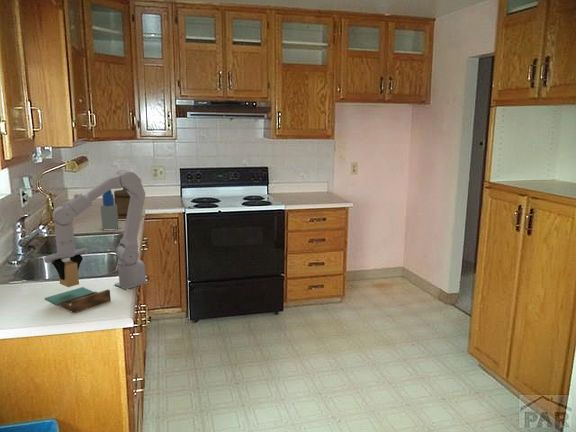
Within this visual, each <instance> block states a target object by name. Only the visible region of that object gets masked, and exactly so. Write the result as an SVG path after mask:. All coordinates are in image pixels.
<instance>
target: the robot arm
mask: <svg viewBox="0 0 576 432" xmlns="http://www.w3.org/2000/svg"><path fill="white" fill-rule="evenodd" d="M123 188H124V189H125V190H126V191H127V193H128V194H129V195H130V202H129V207H128V212H127V218H126V220H125V223H124V228H123V234H122V237H121V239H120V240H119V244H118V246H117V247H116V249H115V254H116V256H117V258H118V261H117V269H118V271H117V272H118V282H115V283H114V286H116V287H119V288H121V289H123V290H124V289H125V290H129V289H132V288H135V287H139V286H142V285H144V284H147V283H148V281H147V276H146V275H147V273H146V272H147V271H146V265H145V263H144V261H143V260H141V259H139V258H140V252H139V243H138V235H139V230H140V225H141V219H142V214H143V208H144V203H145V200H146V192H145V189H144V186H143V184H142V179H141V178H140V176H138V174H137V173H135V172H134V171H128V170H127V169H120V170H118V171H117V172H116V173H113V174H111V175H110V176H108V177H107V178H106V179H103V181H102V182H100V183H99V184H97V185H96V186H94V187H93V188H92V189H90V190H89V191H88V192H86V193H83V192H81V193H79V194H78V193H75V194H74V195H73V198H70V199H69V200H68V201H66V202H63V203H62V204H61V205H62V206H61V205H60V206H57V207H56V208H54V209H53V211H52V214H51V217H52V219H53V220H54V235H55V245H56V253H53V254H50V255H46V256H44V257H43V261H44V263H46V264H49V263H51V264H52V265H53V267H54V268H55V270H56V272H57V274H58V278H59V277H60V279H61V280H65V274H64V264H65V262H62V261H63V260H65V259H69V260H71V261H73V262H76V263H77V267H78V270H79V269H80V266H81V264H82V262H83V259H84V258H83V256H82V255H88V254H89V252H88V251H89V250H88V248H86V247H83V248H76V246H75V237H74V227H73V221H74V219H75V217H77V216H80V214H82V213H83V212H84V211H86V210H87V209H89V208H90V207H92V203H93V201H94V200H96V199H98V198H99V197H102V195H103V194H104V193H106V192H107V191H109V190H111V191H112V190H116V189H117V190H122V189H123Z"/></svg>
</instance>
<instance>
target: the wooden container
mask: <svg viewBox="0 0 576 432" xmlns="http://www.w3.org/2000/svg"><path fill="white" fill-rule="evenodd" d="M113 197H114V204H116V205H117V213H118V219H126V218H127V212H128V207H129V202H130V195H129V194H128V193H127V191H126V190H125V189H124V188H122V189H117V190H114V191H113Z"/></svg>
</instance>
